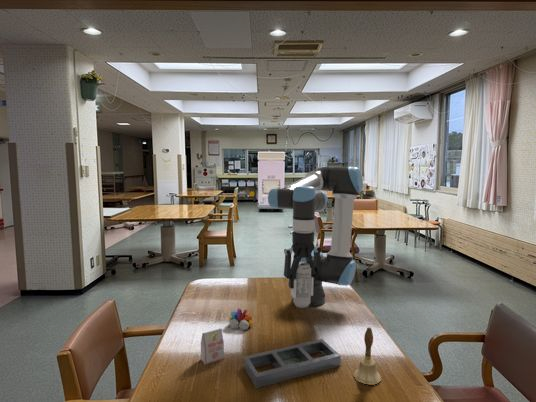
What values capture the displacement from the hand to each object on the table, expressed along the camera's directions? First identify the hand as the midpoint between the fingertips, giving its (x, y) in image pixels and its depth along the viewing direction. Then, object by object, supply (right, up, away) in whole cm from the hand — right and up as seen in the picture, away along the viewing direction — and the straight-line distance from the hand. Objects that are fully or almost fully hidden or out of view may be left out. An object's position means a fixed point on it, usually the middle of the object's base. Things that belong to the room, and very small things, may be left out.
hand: (301, 295), depth 121 cm
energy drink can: (0, -4, 0) cm, 4 cm away
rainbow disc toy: (-23, -18, +18) cm, 34 cm away
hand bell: (+19, -22, -15) cm, 32 cm away
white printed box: (-31, -20, -5) cm, 37 cm away
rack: (-4, -21, -9) cm, 23 cm away
